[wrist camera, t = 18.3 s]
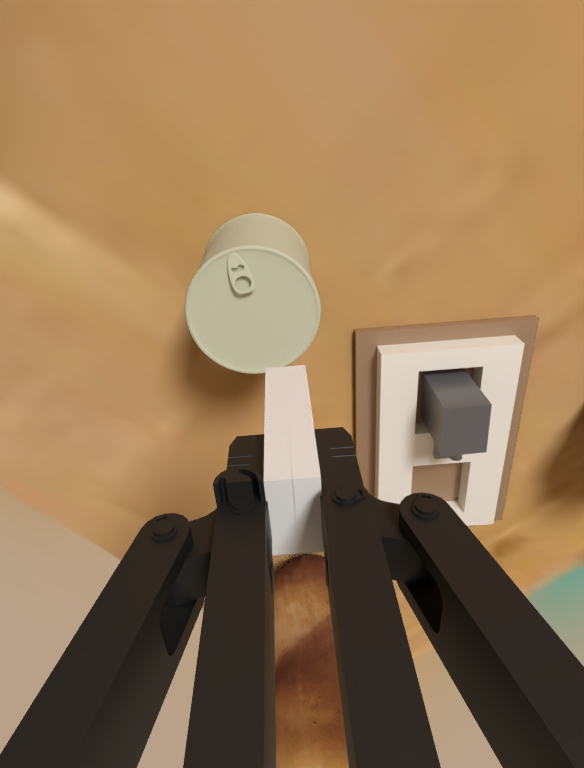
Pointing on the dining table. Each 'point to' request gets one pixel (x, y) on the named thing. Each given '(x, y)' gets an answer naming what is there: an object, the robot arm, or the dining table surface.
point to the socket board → (403, 410)
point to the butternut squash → (306, 670)
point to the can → (253, 296)
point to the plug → (455, 412)
